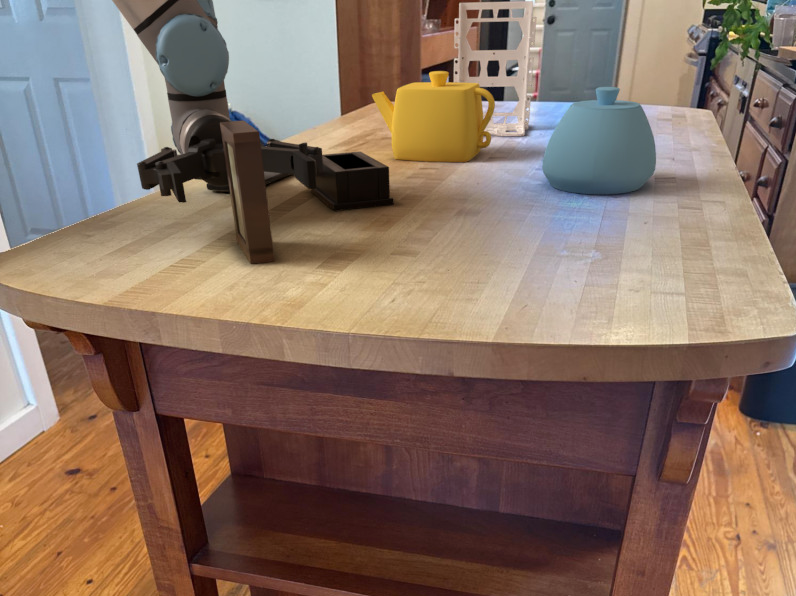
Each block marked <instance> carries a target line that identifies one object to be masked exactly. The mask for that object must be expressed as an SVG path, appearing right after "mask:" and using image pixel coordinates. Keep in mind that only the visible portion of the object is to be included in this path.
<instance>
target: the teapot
mask: <svg viewBox="0 0 796 596" xmlns="http://www.w3.org/2000/svg"><path fill="white" fill-rule="evenodd" d="M449 74H450V72H448V71H445V70H434V71H430V72H429V73H428V76H429V79H430V81H427V82H424V81H423V82H422V81H421V82H418V81H417V82H416V81H415V82H411V83H408V84H404V85H402V86H399V87H398V88H397V90H396V93H395V98H394V103H392V101H391V100H390V99H389V97H388V96H387V95H386V94H385V91H380V92H376V93H372V94H371V97H372V99H373V102H374V103H375V105H376V107H377V109H378V111H379V113H380V115H381V116H382V119H383V121H384V122H385V124H386V126H387V128H388V130H389V132H390V134H391V149H392V150H391V151H392V154H393V158H394V160H399V161H411V162H412V161H413V162H429V163H430V162H431V163H432V162H433V163H466V162H470V161H471V160H473V159H474V158H475V157H476V156H477V155H479V153H480V152H481V150H482V149H486V148H488V147H489V146H490V144H491V142H492V135H490V133H489V132H487V131H484V130H485V128H486V127H487V125H488V123H489V121H490V119H491V117H493V116H492V115H493V113H495V107H496V102H495V98H494V96H493V94H492V93H491V92H490V91H489V90H487V89H485V88H484V87H480V86H479V83H457V82H454V81H453V82H450V81H449V82H448V78H449ZM482 97H483V98H485V99H486V100H487V105H488V106H487V110H486V112H485V113H486V115H485V116H483V113H484V109H483V108H484V107H483V100H482ZM484 137H485V139H486V140H485V141H484Z"/></svg>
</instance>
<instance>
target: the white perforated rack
mask: <svg viewBox="0 0 796 596" xmlns="http://www.w3.org/2000/svg"><path fill="white" fill-rule="evenodd" d="M458 6H459V7H458V17H457V18H454V32H453V33H454V34H453V35H454V37H453V39H454V43H453V48H454V49H457V50H458V52H457V53H458V55H457V57H455V58H453V82H456V83H479V86H480V88H488V87H489V88H491V87H492V88H494V87H497V88H499V87H500V88H501V87H502V88H503V87H506V88H507V87H514V91H515V92H516V95H517V98H518V101H517V103H516V105H515V107H514V109H513V111H512V112H493V115H492V117H491V119H490V121H489V123H488V125H487V127H486V128H485V130H484V131H487V132H489V133H490V135H491V136H495V137H522V136H525V135H526V131H528V130H529V128H530V127H529V126H530V125H529V123H530V115H531V114H530V113H531V102H532V101H531V100H532V96H531V95H528V87H532V85H533V71H534V57H533V56H530V54H531V53H530V52H531V48H535V45H536V44H535V43H536V30H537V16H533V8H534V1H533V0H522V1H521V0H520V1H519V0H518V1H483V2H482V1H479V2H478V1H477V2H459V4H458ZM519 9H520V10H522V9H524V13H523V17H521V16H520V17H513V10H519ZM470 10H471V11H475V10H477V11H478V10H479V11H478V16H477V18H476V17H475V18H474V17H473V18H468V12H467V11H470ZM483 10H492V14H493V17H482V13H483ZM499 10H509V17H498V14H499ZM533 20H534V21H533ZM457 21H458V23H457ZM495 22H499V23H500V22H517V23H518V25H519V28H520V31H521V32H522V35H523V36H522V37H521V39H520V42H519V44H518V45H517V47H516V49H492V50H491V49H489V50H488V49H485V50H484V49H483V50H480V49H479V50H473V49H472V48H471V45H470V43H469V41H468V38H467V35H468V33H469V31H470V29H471V27H472V25H473V23H495ZM532 32H533V33H532ZM457 33H458V34H457ZM456 44H457V45H456ZM530 60H532V61H530ZM456 61H457V62H456ZM489 61H498V66H499V70H498V75H497V76H489V75H488V65H489ZM508 61H517V65H518V69H517V73H516V75H515V76H511V75H510V76H507V70H506V68H507V63H508ZM470 62H479V64H480V71H479V75H478V76H470V73H469V66H470ZM530 71H531V72H530ZM529 82H530V83H529ZM528 98H529V99H528ZM527 109H528V110H527ZM486 113H487V112H483V117H485V115H486ZM493 117H504V118H503V123H501V122H500V123H494V118H493ZM508 117H517V123H516V122H515V123H514V122H513V123H512V122H511V123H506V122H507V118H508Z"/></svg>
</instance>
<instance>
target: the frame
mask: <svg viewBox="0 0 796 596" xmlns="http://www.w3.org/2000/svg"><path fill="white" fill-rule="evenodd" d="M220 127H221V134H222V141H223V148H224V155H225V161H226V168H227V175H228V182H229V189H230V191H229V195H230V201H231V210H232V216H233V222H234V228H235V236H236V243H237V246H238V247H239V248H240V250H241V251H242V253H243V254H244V256H245V257H246V259H247V260H248V262H249V263H250V264H251V265H254V264H262V263H269V262H270V263H271V262H275V254H274V245H273V236H272V228H271V227H272V226H271V220H270V211H269V204H268V193H267V187H266V185H267V184H266V185H265V177H264V168H263V160H262V152H261V145H262V144H261V137H260V136H261V135H260V131H259V130H257V129H256V128H255V127H254V126H252V125H250V124H249V123H248V122H247V121H245V120H231V121H230V122H220Z"/></svg>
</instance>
